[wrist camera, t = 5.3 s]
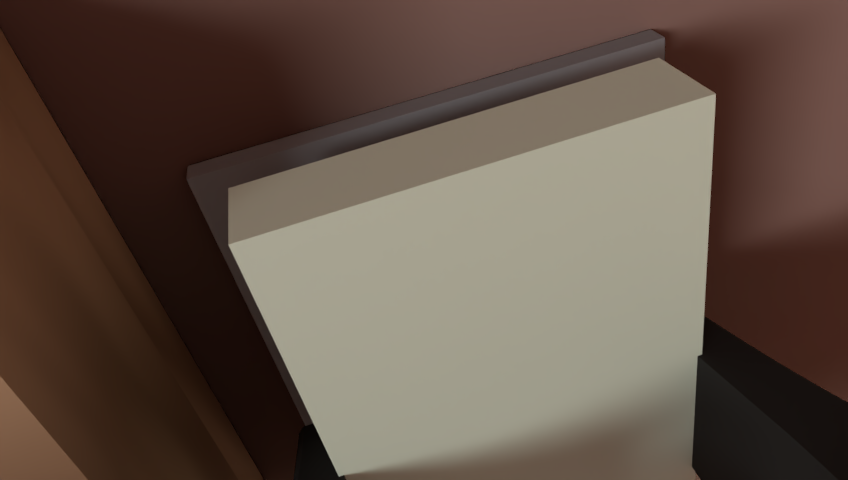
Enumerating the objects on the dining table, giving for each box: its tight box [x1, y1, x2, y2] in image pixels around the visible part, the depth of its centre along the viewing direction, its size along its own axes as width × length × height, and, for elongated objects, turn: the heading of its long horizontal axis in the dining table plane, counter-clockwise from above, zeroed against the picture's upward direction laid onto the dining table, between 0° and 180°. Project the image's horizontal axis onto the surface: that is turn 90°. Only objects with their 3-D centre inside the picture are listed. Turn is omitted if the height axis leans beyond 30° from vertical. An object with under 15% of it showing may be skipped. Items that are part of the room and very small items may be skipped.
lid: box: [228, 58, 716, 480], centre depth 11 cm, size 11×5×1 cm, turn 12°
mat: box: [186, 29, 665, 426], centre depth 13 cm, size 10×7×1 cm
